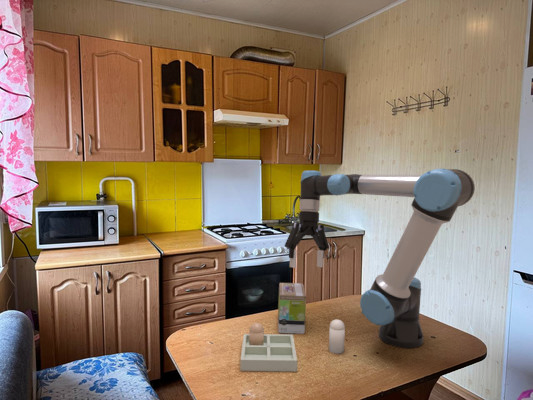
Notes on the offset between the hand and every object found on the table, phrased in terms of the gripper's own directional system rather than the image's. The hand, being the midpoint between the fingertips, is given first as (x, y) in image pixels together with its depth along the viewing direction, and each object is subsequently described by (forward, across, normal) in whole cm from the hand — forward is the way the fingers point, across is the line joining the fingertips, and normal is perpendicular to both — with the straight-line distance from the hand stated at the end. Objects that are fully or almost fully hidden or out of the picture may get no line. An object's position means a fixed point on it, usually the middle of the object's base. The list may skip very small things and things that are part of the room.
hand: (306, 267), depth 141 cm
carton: (+28, +21, +8) cm, 36 cm away
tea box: (+23, 0, -7) cm, 24 cm away
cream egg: (+26, -1, +16) cm, 31 cm away
